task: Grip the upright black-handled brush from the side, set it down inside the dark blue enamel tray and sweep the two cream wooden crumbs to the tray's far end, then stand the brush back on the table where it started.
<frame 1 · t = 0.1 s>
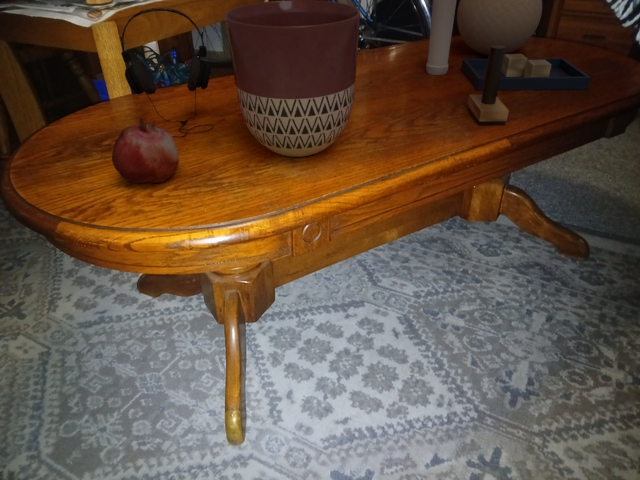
fruit: (151, 179, 78), on the table
headphones: (177, 127, 95), on the table
planter: (298, 150, 86), on the table
tray: (521, 78, 116), on the table
crumb a: (535, 80, 113), resting on tray
decorative sphere: (491, 55, 133), on the table
brush: (485, 116, 97), on the table
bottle: (436, 73, 121), on the table
crumb b: (512, 74, 117), resting on tray
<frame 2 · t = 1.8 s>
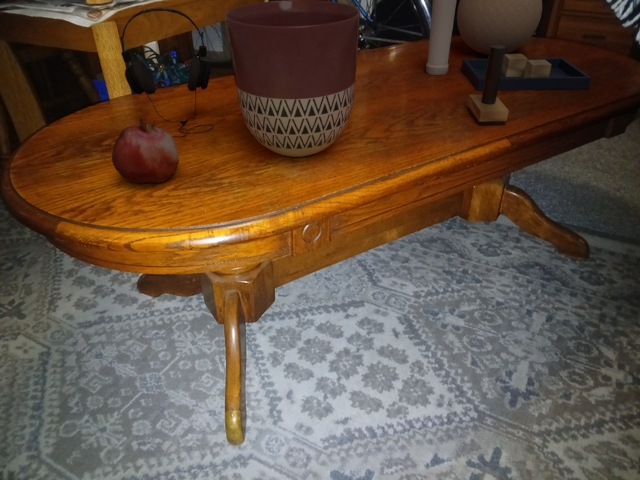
nothing on the table moved.
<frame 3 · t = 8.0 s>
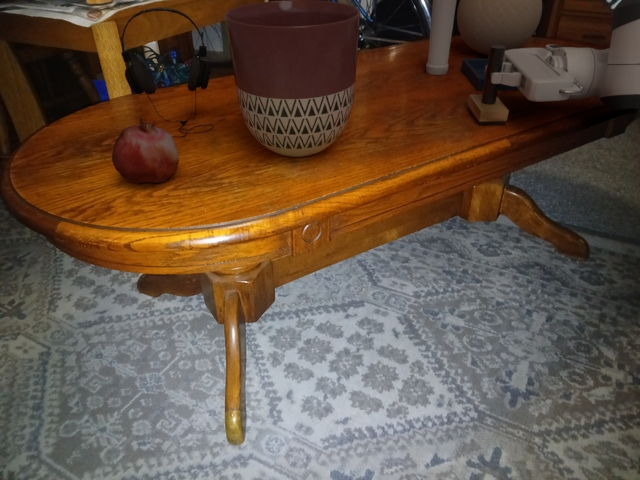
hand: (488, 74, 93), 8 cm above the table, tool horizontal, fingers closed on brush, 2 cm apart
brush: (485, 116, 97), on the table, touching gripper
everything else where it was.
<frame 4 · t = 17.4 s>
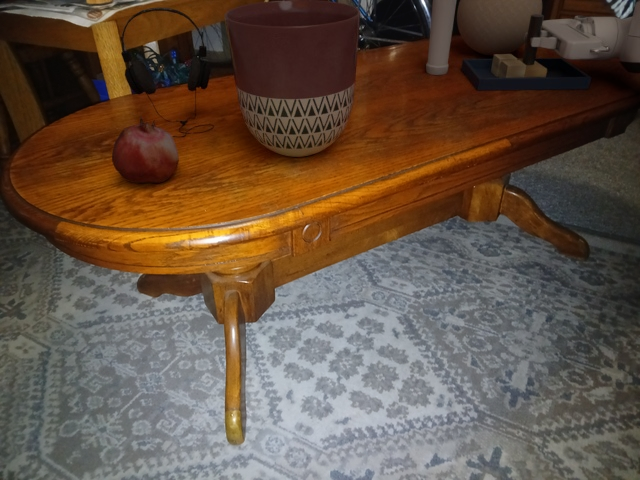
hand: (528, 39, 111), 9 cm above the table, tool horizontal, fingers closed on brush, 2 cm apart
crumb a: (510, 81, 113), point 1 cm above the table, touching brush
brush: (525, 76, 116), point 1 cm above the table, touching crumb a, gripper
crumb b: (501, 74, 117), point 1 cm above the table
everything else where it was.
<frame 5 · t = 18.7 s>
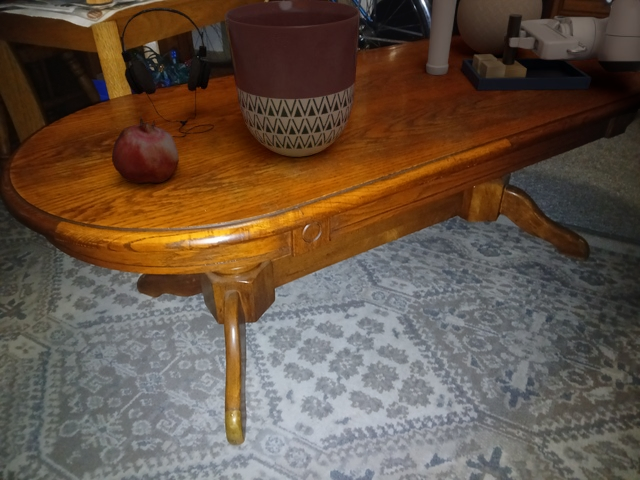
hand: (506, 39, 111), 9 cm above the table, tool horizontal, fingers closed on brush, 2 cm apart
crumb a: (490, 82, 113), resting on tray, touching brush
brush: (505, 76, 116), point 1 cm above the table, touching crumb a, crumb b, gripper
crumb b: (482, 74, 117), resting on tray, touching brush
everything else where it was.
when the fingers open (8 cm above the table, at t = 26.3 s): brush stays where it is, on the table.
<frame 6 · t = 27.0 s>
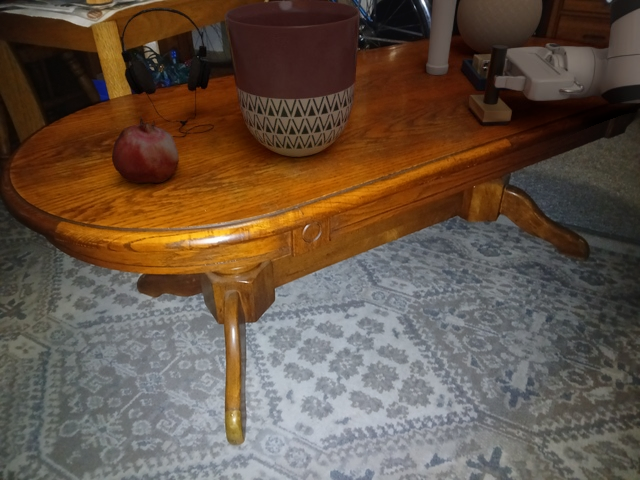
hand: (488, 73, 93), 8 cm above the table, tool horizontal, fingers open, 8 cm apart
crumb a: (490, 82, 113), resting on tray
brush: (487, 116, 97), on the table
crumb b: (482, 74, 117), resting on tray
everything else where it was.
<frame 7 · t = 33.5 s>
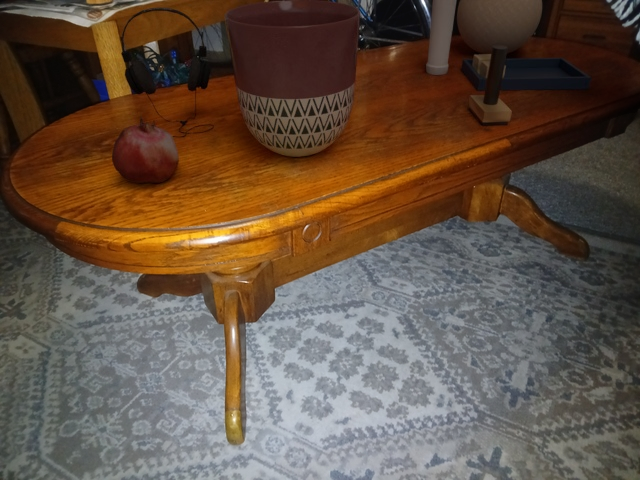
nothing on the table moved.
at the end: crumb a inside the target area in the tray (3.5 cm from its centre), point 0.5 cm above the tray's base; crumb b inside the target area in the tray (2.1 cm from its centre), point 0.5 cm above the tray's base; brush inside the target area (0.3 cm from its centre), on the table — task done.
